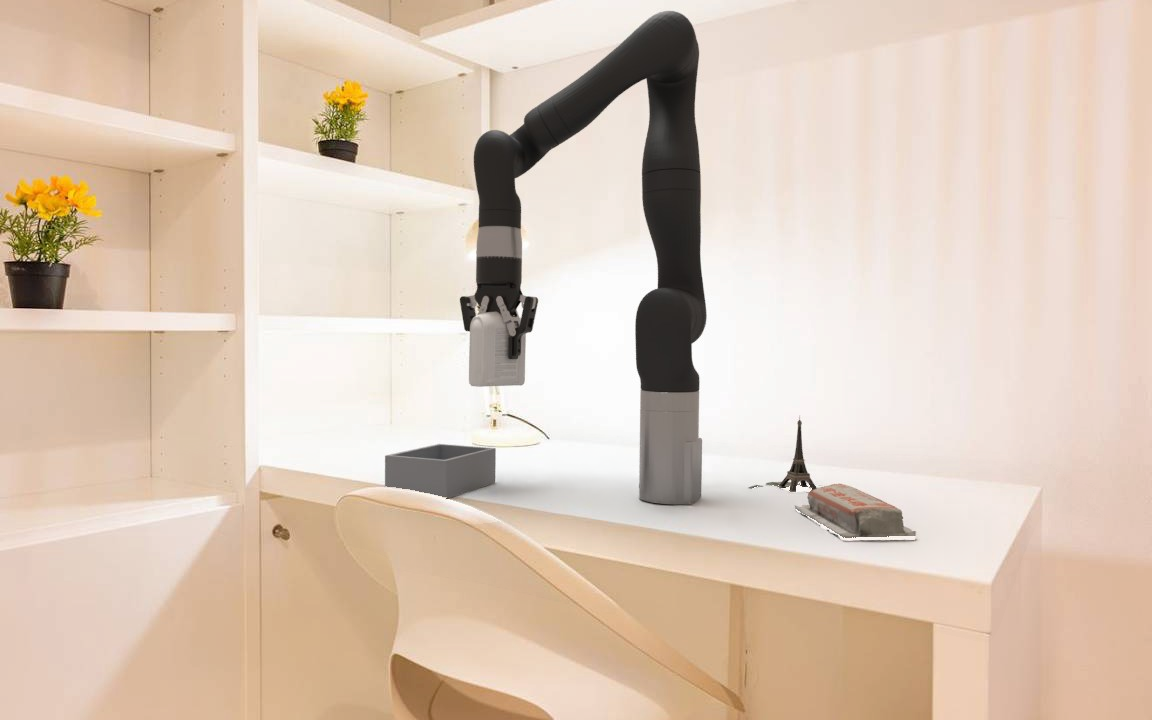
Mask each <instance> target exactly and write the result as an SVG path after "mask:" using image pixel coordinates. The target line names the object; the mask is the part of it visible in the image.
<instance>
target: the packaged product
mask: <svg viewBox="0 0 1152 720" xmlns="http://www.w3.org/2000/svg"><path fill="white" fill-rule="evenodd" d="M823 486H824V487H816V488H817V489H814V490H811V491H810V492H807V500H808V501H807V502H808V504H807V505H806V504H804V505H801V506H799V505H794V508H795V509H797V510H798V511H800V512H801V513H803V514H805V515H807V516H809V517H810V518H812V519H814V520H816V521H817V522H818V523H820V524H823V525H824V526H826V527H827V528H829V529H831V530H832V531H834V532H835V533H837V534H839V535H840V536H842V537H843V538H844V537H845V538H852V537H853V538H854V537H855V538H856V537H887V536H888V537H889V536H916V535H917V534H916V533H917V531H916V530H913V529H911V528H909V527H906V526H905V525H904V521H903V519H904V517H903V511H902V510H901V509H900V508H897V507H896V506H894V505H893V504H890V503H888V502H886V501H884V500H882V499H880V498H877V497H875V496H873V495H871V494H869V493H866V492H864V491H861V490H859V489H857V488H856V487H853V486H851V485H848V484H843V483H833V484H830V485H823Z"/></svg>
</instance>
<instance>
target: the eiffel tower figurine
mask: <svg viewBox="0 0 1152 720" xmlns="http://www.w3.org/2000/svg"><path fill="white" fill-rule="evenodd" d="M798 418H799V419H798V420H797V432H796V433H797V434H796V444H795V452H794V456H793V457H794V458H792V460H793V461H792V464H791V466H790V469H789V471H787V472H786V473H787V475H786V476H785V477H784V479H783V480H782V481H769V482H766V483H765V486H770V487H771V486H772V485H774V486H772V487H777V488H778V487H779V489H781V488H786V487H789V486H790V490H789V491H790V492H796V486H797V485H800V483H801V485H800V486H802V487H808V486H807V485H806V484H809V485H810V487H809V488H812V490H814V489H817V488H818V487H816V486H815V485H816V484H815V483H814V481H813V480H812V479H811V473H809V472H808V470H807V467H806V464H805V463H806V462H805V461H806V459H804V453H803V438H802V425H803V423H802V421H801V416H799V417H798ZM798 483H799V484H798ZM778 485H779V486H778ZM757 486H758V487H757ZM754 487H756V488H763V487H764V485H758V484H754V485H751V486H749V487H747V488H749V489H752V488H754ZM754 489H755V488H754ZM790 492H789V493H790Z"/></svg>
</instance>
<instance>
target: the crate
mask: <svg viewBox="0 0 1152 720" xmlns="http://www.w3.org/2000/svg"><path fill="white" fill-rule="evenodd" d="M496 450H497V449H496V447H484V446H470V445H457V444H445V443H437V444H433V445H432V444H431V445H428V446H423V447H419V448H415V449H409V450H405V451H401V452H395V453H390V454H386V455H384V487H385V486H387V487H396V488H402V489H410V490H415V491H419V492H424V493H430V494H434V495H438V496H442V497H447V498H448V499H450V498H454V497H456V496H459V495H462V494H466V493H468V492H471V491H475V490H477V489H480V488H483V487H487V486H489V485H492V484H494V483H495V484H496V466H497V465H496V459H497V458H496V453H497V451H496Z"/></svg>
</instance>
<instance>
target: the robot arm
mask: <svg viewBox="0 0 1152 720" xmlns="http://www.w3.org/2000/svg"><path fill="white" fill-rule="evenodd" d="M699 58H700V48H699V42H698V40H697V35H696V31H695V29H694V25H693V24H692V23H691V21H690V19H689V18H687V17H686V16H685V14H682V13H681V12H679V11H674V10H663V11H660V12H657V13H655V14H653V15H652V16H650V17H648V19H646V20H645V21H644V22H643V23H641V24H640V25H639V26H638V27H637V28H636V29H635V30H634V31H633V32H632V33H631V34H629V36H627V37H626V39H624V40H623V41H622V42H621V43H620V44H619V45H618V46H616V47H615V48H614V49H613V50H612V51H610V52H609V53H608V54H607V55H606V56H605V57H603V59H601V60H600V61H599V62H597V63H596V64H595V65H593V66H592V67H591V68H590V69H588V70H587V71H586V72H585V73H583V74H582V75H581V76H579V77H578V78H577V79H575V80H574V81H572V82H571V83H570V84H568V85H566V86H565V87H564V88H562V89H561V90H559V91H558V92H556V93H555V94H553V95H552V96H550V97H549V98H547V99H545V100H544V101H543V102H541V103H540V104H538V105H537V106H535V107H533V108H532V109H531V110H529V111H528V112H527V113H526V114H525V115H524V118H523V124H522V125H521V126H520V127H518V128H517V129H516V130H515V131H513V132H512V133H510V134H508V133H506V132H505V131H502V130H498V129H491V130H488V131H486V132H485V133H483V134H482V135H480V137H479V138H478V139H477V142H476V144H475V146H474V149H473V150H474V151H473V171H474V178H475V185H476V190H477V195H478V202H479V203H478V204H479V205H478V229H477V230H478V231H477V238H476V252H475V253H476V258H475V259H476V260H475V261H476V264H475V265H476V268H475V283H476V291H475V293H474V294H472V295H467V296H466V295H465V296H464V295H463V296H461V297H460V298H459V303H460V304H459V305H460V309H461V311H460V312H461V314H462V315H461V317H462V321H463V322H462V324H463V329H464V331H466V332H469V333H470V324H471V321H472V319H473V318H474V317H475V316H477V315H479V314H482V313H486V312H498V313H500V314H501V315H502V317H503V320H504V322H505V324H506V325H507V328H508V331H509V334H510V335H511V337H509V344H508V358H509V359H518V356H520V354H521V337H522V335H523V334H526V335H527V334H528V333H529V334H530V333H532V331H533V328H534V323H535V318H536V315H537V309H538V303H539V298H538V297H537V296H531V295H530V296H528V295H524V294H523V292H522V289H521V285H522V282H523V281H522V276H523V275H522V271H523V269H522V268H523V238H522V230H521V229H522V202H521V198H520V196H519V195H518V193H517V189H516V179H517V178H519V177H521V176H523V175H524V174H526V173H527V172H529V171H530V170H531V169H532V168H533V167H534V166H535V165H537V163H538V162H540V161H541V160H542V159H543V158H544V157H545V156H546V155H547V154H548V153H549V152H550V151H551V150H553V149H555V148H556V147H558V146H560V145H561V144H563V143H564V142H566V141H568V140H569V139H571V138H572V137H574V136H575V135H577V134H578V133H580V132H581V131H583V130H584V129H585V128H587V127H588V126H589V125H591V124H592V122H593V121H594V120H596V119H597V118H598V117H599V116H600V115H601V114H602V112H604V111H605V110H606V109H607V107H608V106H610V104H612V103H613V102H614V101H615V99H617V98H619V96H620V95H622V94H623V93H625V92H626V91H628V89H631V87H634V85H636V84H638V83H640V82H642V81H644V80H646V85H647V95H648V110H649V111H648V113H649V118H648V128H647V132H646V133H647V134H646V138H645V142H644V147H643V148H644V149H643V155H642V164H641V189H642V191H641V193H642V195H641V197H642V208H643V213H644V217H645V223H646V226H647V228H648V232H649V235H650V238H651V241H652V245H653V247H654V251H655V255H656V262H657V288H654V289H652V290H650V291H649V292H647V293H646V294H645V295H644V297H642V299H641V300H640V301H639V304H638V307H637V309H636V315H635V326H634V327H635V328H634V330H635V335H634V337H635V365H636V366H635V367H636V372H637V375H638V378H639V380H640V391H639V392H640V400H639V401H640V409H639V465H638V466H639V471H638V473H639V476H638V478H639V481H638V482H639V483H638V488H639V491H638V492H639V493H638V494H639V495H638V498H639V499H640V500H642V501H644V502H649V503H654V504H663V505H692V504H694V503H695V502H697V501H698V500H699V499H701V498H702V483H703V482H702V480H703V478H702V476H703V475H702V473H703V470H702V469H703V438H701V437H699V434H700V433H699V431H700V430H699V429H700V427H699V426H700V374H699V372H698V371H697V369H696V368H695V365H694V363H693V352H692V351H693V350H692V349H693V344H695V342H696V341H698V339H699V338H700V337H701V336H702V335H703V333H704V330H705V328H706V324H707V319H708V318H707V306H706V305H707V304H706V297H705V289H704V281H703V273H702V262H701V246H702V245H701V244H702V243H701V242H702V241H701V237H702V236H701V233H702V231H701V229H702V228H701V227H702V226H701V225H702V224H701V223H702V222H701V220H702V219H701V214H702V213H701V207H702V206H701V204H702V186H701V185H702V182H701V181H702V180H701V179H702V178H701V177H702V175H701V163H700V162H701V161H700V160H701V159H700V148H699V147H700V146H699V139H698V138H699V137H698V132H697V130H698V129H697V124H696V123H697V122H696V110H695V109H696V91H697V80H698V70H699V61H700V59H699ZM520 304H521V308H522V313H521V316H519V313H518V310H517V309H518V307H519V306H520ZM477 305H478V307H479V310H478V313H477V312H476V307H477ZM476 313H477V314H476ZM511 316H513V317H511ZM519 317H520V318H521V321H520V318H519Z"/></svg>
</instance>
